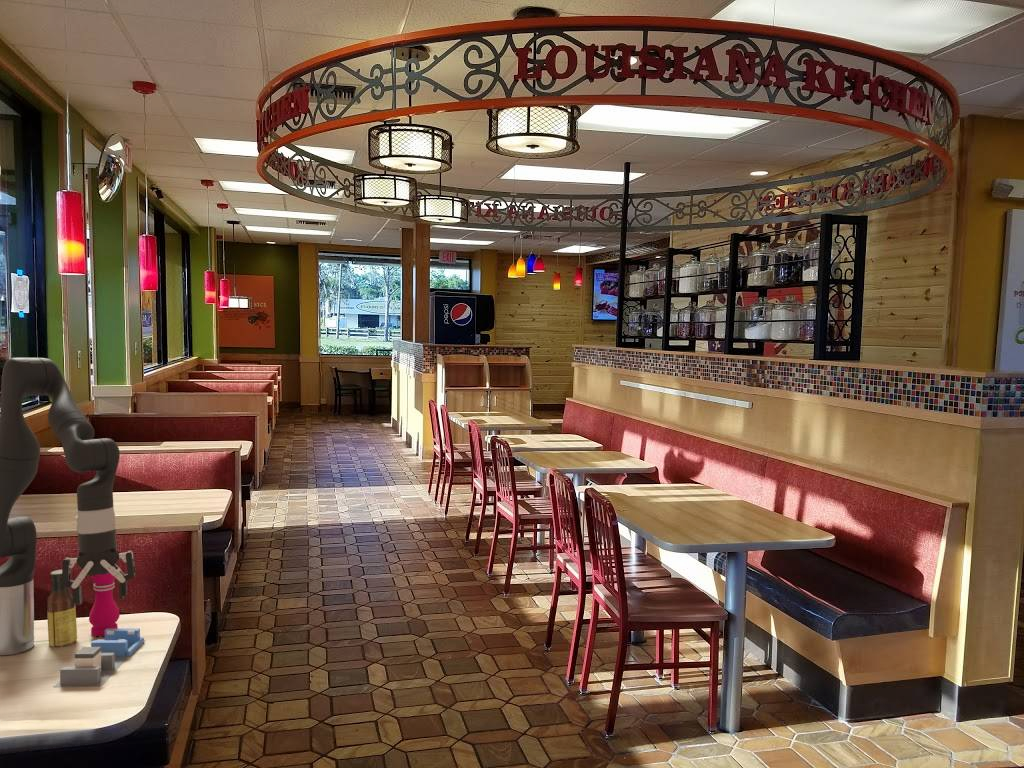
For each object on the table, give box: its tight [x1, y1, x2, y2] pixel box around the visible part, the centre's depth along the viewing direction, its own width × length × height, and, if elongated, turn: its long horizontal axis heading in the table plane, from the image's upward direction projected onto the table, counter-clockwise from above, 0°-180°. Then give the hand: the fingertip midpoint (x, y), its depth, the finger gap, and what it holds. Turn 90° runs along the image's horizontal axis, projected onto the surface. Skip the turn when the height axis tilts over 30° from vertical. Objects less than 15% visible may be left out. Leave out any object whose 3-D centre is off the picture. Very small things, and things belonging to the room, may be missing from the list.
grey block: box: [74, 646, 101, 673], centre depth 175 cm, size 4×4×6 cm
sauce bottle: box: [46, 569, 78, 648], centre depth 193 cm, size 7×6×20 cm
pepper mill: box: [88, 570, 120, 637], centre depth 204 cm, size 7×7×20 cm
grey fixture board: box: [53, 627, 146, 688], centre depth 183 cm, size 10×26×5 cm, turn 5°
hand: (100, 601), depth 170 cm, fingers open, 8 cm apart
